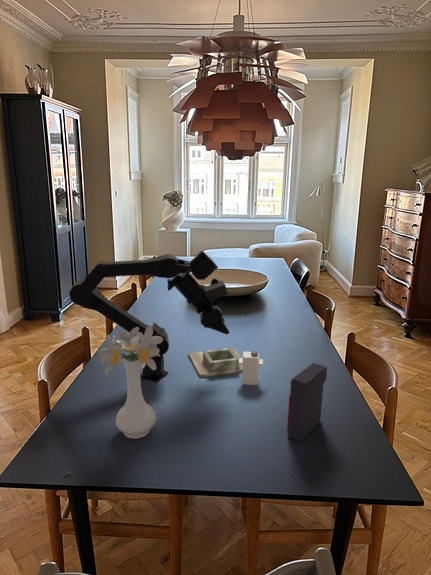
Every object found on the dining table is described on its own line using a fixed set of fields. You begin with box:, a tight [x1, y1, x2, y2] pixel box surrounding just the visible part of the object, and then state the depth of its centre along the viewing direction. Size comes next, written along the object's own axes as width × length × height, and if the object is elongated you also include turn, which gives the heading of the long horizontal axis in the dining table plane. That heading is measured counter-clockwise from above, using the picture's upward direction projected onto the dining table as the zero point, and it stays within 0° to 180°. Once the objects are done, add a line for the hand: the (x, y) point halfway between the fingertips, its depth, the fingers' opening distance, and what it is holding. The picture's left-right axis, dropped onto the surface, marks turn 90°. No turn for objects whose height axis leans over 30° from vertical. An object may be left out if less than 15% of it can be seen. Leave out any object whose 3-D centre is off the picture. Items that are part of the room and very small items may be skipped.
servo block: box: [239, 350, 264, 386], centre depth 121 cm, size 7×4×9 cm, turn 83°
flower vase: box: [97, 324, 163, 440], centre depth 95 cm, size 13×18×25 cm
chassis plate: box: [188, 347, 243, 378], centre depth 133 cm, size 16×16×4 cm
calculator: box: [286, 362, 328, 442], centre depth 97 cm, size 11×4×15 cm, turn 141°
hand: (225, 327), depth 124 cm, fingers open, 9 cm apart
